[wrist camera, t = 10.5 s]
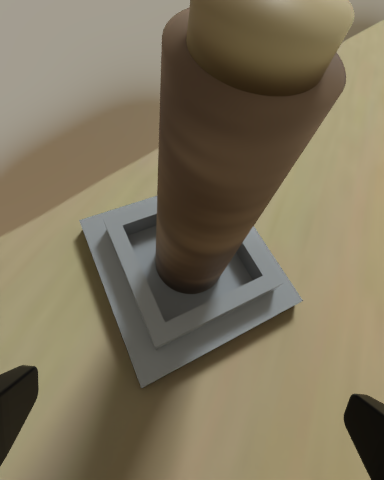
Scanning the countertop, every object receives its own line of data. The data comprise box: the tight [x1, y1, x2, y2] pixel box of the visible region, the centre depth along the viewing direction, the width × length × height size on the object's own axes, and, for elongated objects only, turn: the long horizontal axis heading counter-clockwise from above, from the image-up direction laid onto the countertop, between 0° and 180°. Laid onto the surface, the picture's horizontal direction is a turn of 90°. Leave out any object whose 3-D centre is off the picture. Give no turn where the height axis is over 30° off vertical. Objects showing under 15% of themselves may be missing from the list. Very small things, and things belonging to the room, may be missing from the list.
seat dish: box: [79, 196, 303, 388], centre depth 19 cm, size 12×12×3 cm
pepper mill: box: [155, 0, 354, 294], centre depth 13 cm, size 5×5×15 cm
